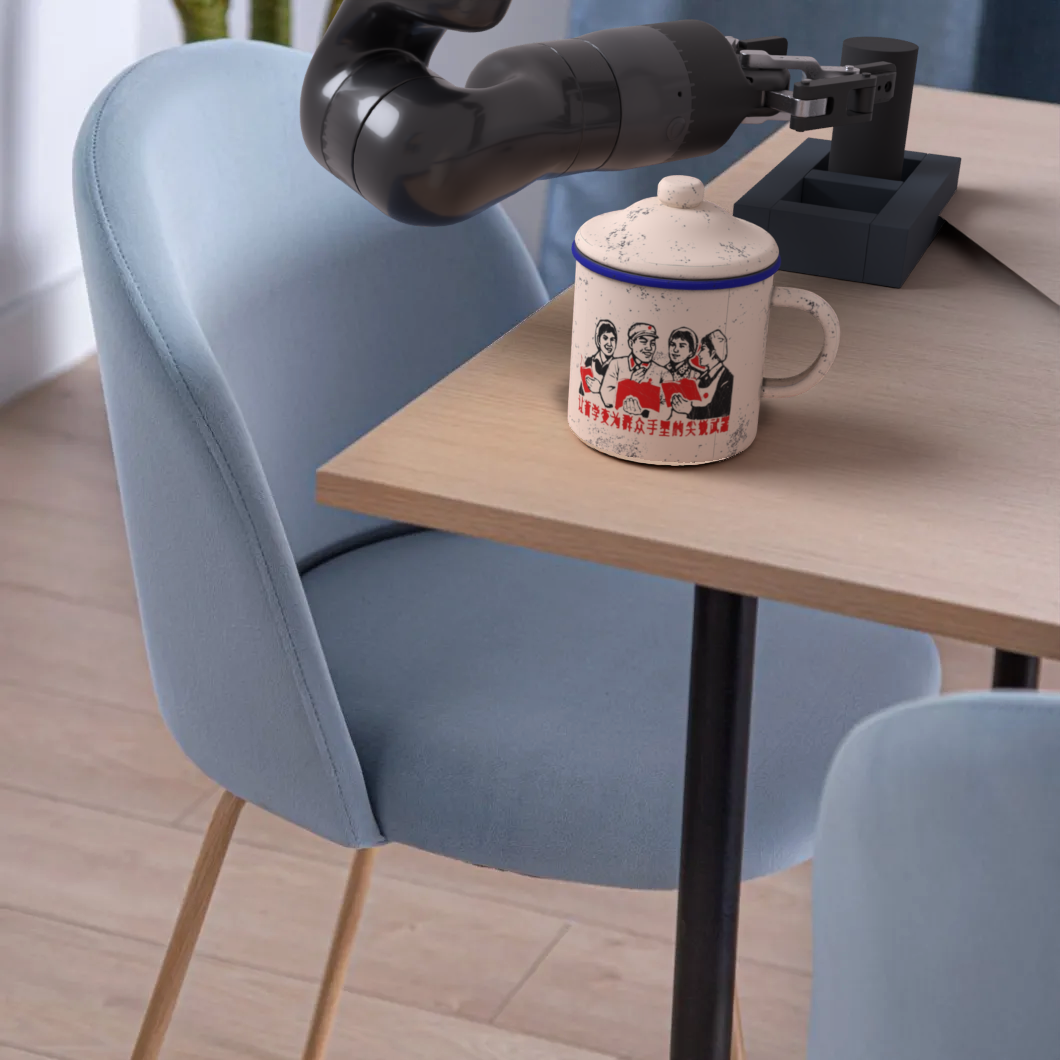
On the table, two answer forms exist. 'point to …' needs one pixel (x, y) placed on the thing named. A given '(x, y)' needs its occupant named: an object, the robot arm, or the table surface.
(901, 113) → the black cylinder
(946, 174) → the divided rectangular tray
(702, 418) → the teacup with lid
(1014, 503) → the table surface
